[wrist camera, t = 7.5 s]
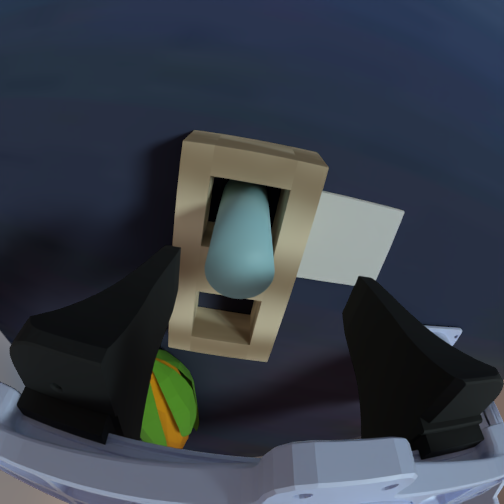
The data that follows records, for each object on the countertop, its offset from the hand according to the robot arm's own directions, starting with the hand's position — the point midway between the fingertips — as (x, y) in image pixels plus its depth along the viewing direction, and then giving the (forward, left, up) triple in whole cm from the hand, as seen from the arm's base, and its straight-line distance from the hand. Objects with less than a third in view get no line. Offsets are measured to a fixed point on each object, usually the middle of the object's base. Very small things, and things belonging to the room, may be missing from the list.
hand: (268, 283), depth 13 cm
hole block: (-5, +1, -10) cm, 11 cm away
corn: (-25, +5, -10) cm, 27 cm away
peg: (0, +1, -10) cm, 10 cm away
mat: (-3, -7, -10) cm, 13 cm away
